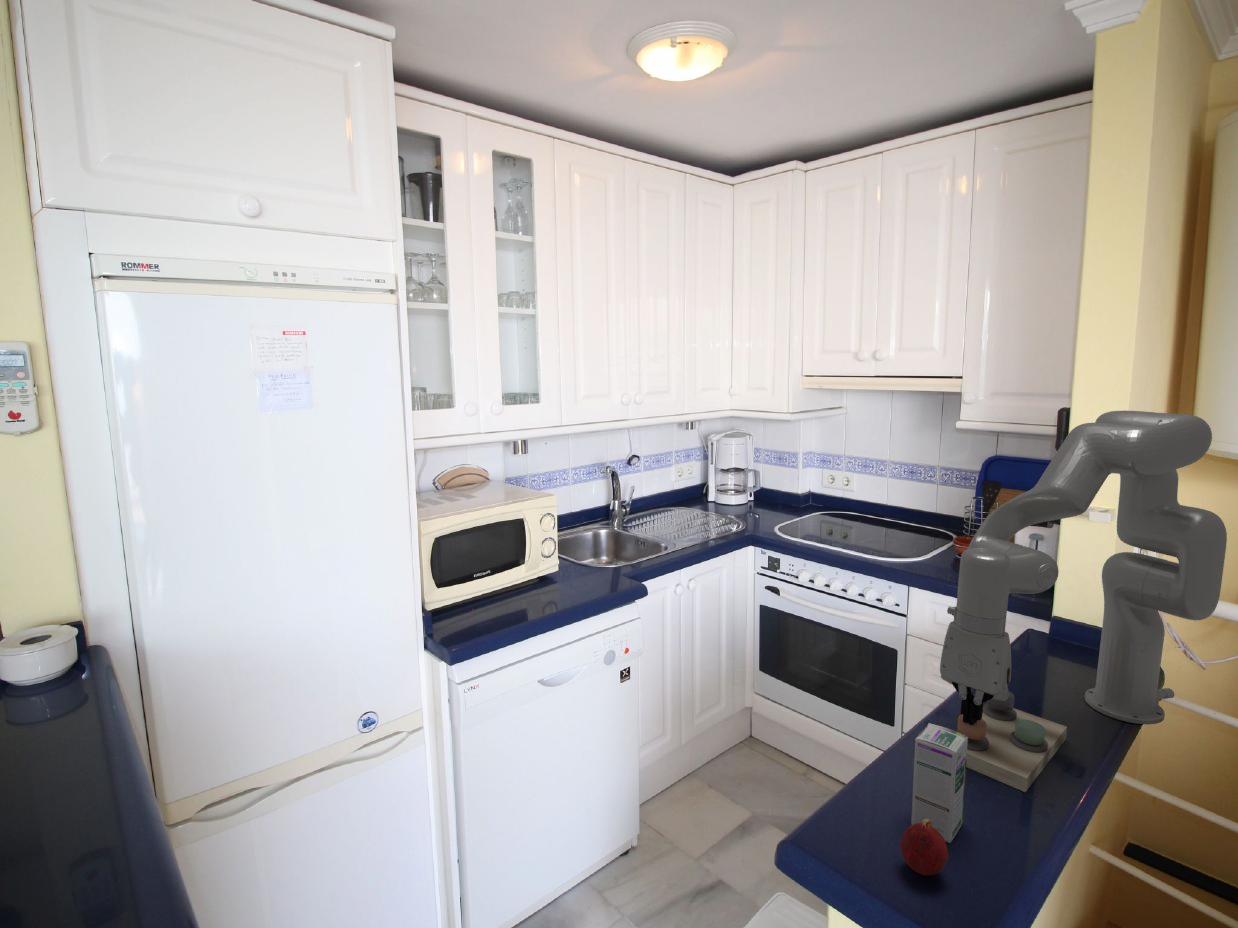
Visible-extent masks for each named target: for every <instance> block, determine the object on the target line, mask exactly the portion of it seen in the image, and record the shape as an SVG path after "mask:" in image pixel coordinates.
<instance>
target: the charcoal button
mask: <svg viewBox="0 0 1238 928" xmlns="http://www.w3.org/2000/svg"><path fill="white" fill-rule="evenodd" d="M1008 691H1009V690H1008ZM1015 697H1016V696H1015V694H1013V692H1011V691H1009V698H1008V699H1007V700H1006V701H1002V700H995V699H990V700H988V701H986V703H988V704H989V705H990V706H991V707H993V708H996V709H999V710H1005V711H1008V710H1012V709H1013V708H1014V706H1015Z"/></svg>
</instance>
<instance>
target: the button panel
mask: <svg viewBox="0 0 1238 928" xmlns="http://www.w3.org/2000/svg"><path fill="white" fill-rule="evenodd" d="M982 719H983V720H984V721H985V722H986V724H987V725H986V736H985V738H984V739H981V740H974V739H969V738H968V743H967V760H966V769H967V768H968V769H970V770H973V771H975V772H976V773H979V774H982V775H983V776H987V777H989V778H991V779H994V780H995V781H998V782H1001V783H1003V784H1005V785H1008V786H1009V787H1012V788H1015V789H1016V790H1019V791H1022V792H1024V793H1026V792H1028V790H1029V788H1031V786H1032V785H1033V783H1034V782H1036V779H1037V778H1038V777H1039V776H1040V774H1041V772H1042V771H1043V770H1044V769H1045V768H1046V766H1047V765H1048V763H1050V761H1051V760H1052V758H1053V757H1054V756H1055V754H1056V753H1057V752H1058V750H1059V749H1060V748H1061V747H1062V746H1063V744H1064V743H1065V741H1066V740H1067V731H1068V727H1067V726H1066V725H1063V724H1061V723H1057V722H1055V721H1052V720H1049V719H1046V718H1043V717H1040V716H1037V715H1034V714H1031V713H1029V712H1026V711H1023V710H1020V709H1017V708H1013V709H1012V710H1008V711H1005V710H999V709H996V708H993V707H991V706H990V705H989V704H988V703H987V702H984V703H983V713H982ZM1021 719H1024V720H1031V721H1034V722H1037V723H1039V724H1040V725H1042V726H1043V727H1044V728H1045V738H1044V743H1043V744H1042V745H1030V744H1027V743H1024V742H1022V741H1020V740H1018V739H1017V738H1016V737H1015V735H1014V734H1015V723H1016V721H1017V720H1021ZM955 731H956V732H958V731H957V729H956V730H955ZM958 733H959V732H958Z"/></svg>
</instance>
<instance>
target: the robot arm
mask: <svg viewBox="0 0 1238 928" xmlns="http://www.w3.org/2000/svg"><path fill="white" fill-rule="evenodd" d="M1212 441H1213V433H1212V429H1211V427H1210V425H1209V423H1207V421H1206V420H1205V419H1203V418H1201V417H1199V416H1196V415H1192V414H1183V413H1169V412H1153V411H1145V410H1144V411H1143V410H1111V411H1107V412H1104V413H1101V414H1100V415H1099V416H1098V417H1097V418H1096V420H1095V422H1086V423H1082V424H1081V423H1080V424H1079V425H1076V426H1075V427H1074V428H1072V429H1071V430H1070V432H1068V434H1067V435H1066V437H1065V439H1064V440H1063V442H1062V443H1061V444H1060V447H1059V448H1058V450H1057V452H1056V453H1055V454H1054V456H1053V457H1052V459H1051V461H1050V462H1049V464H1048V465H1047V466H1046V468H1045V470H1044V472H1043V473H1042V475H1041V477H1040V478H1039V479H1038V481H1037V483H1036V484H1035V485H1034V487H1032V488H1030V489H1029V490H1027V491H1026V492H1023V493H1021V494H1018V495H1017V496H1015V497H1014V498H1011V499H1010V500H1008V501H1006V502H1005V503H1003V504H1001V505H999V506H998V507H997V508H995V509H994V510H993V511H991V512H990V513H989V514H988V515H987V516H986V518H984V520H983V521H982V522H981V524H980V526H979V527H978V529H977V531H976V532H975V533H974V535H973V537H972V539H971V541H970V543H969V545H968V547H967V549H965V550H963V552H962V553H961V555H960V560H959V562H960V563H959V572H958V581H957V583H958V585H957V594H956V595H957V596H956V606H948V607H947V611H946V612H947V614H948V615H951V616H953V620H952V621H951V622H950V623H949V624H948V627H947V629H946V634H945V637H944V641H943V646H942V651H941V657H940V661H939V662H940V663H939V673H940V678H941V679H942V680H943V681H945V682H947V683H948V684H949V685H952V686H953V688H954V689H955V691H957V693H958V697H959V699H960V700H961V705H960V715H963V722H965V723H969V724H970V725H974V724H975V723H976V722H977V721H978V720H979V721H980V720H981V718H982V713H983V704H985V703H987V701H988V700H990V699H995V700H1002V701H1006V700H1007V699H1008V698H1009V686H1010V683H1011V678H1012V649H1011V648H1012V647H1011V640H1010V639H1011V638H1010V635H1009V633H1008V632H1006V626H1007V625H1006V623H1007V613H1008V603H1009V597H1010V596H1009V595H1010V594H1012V593H1013V594H1023V595H1024V594H1028V595H1029V594H1031V595H1032V594H1033V595H1035V594H1040V593H1043V592H1046V591H1047V590H1050V589H1051V588H1052V587H1053V586H1054V585H1055V583H1056V582H1057V580H1058V577H1059V571H1060V570H1059V566H1058V563H1057V562H1056V561H1055V559H1054V557H1052V556H1051V555H1049V554H1047V553H1046V552H1044V551H1041V550H1039V549H1036V548H1031V547H1028V546H1024V545H1022V544H1018V543H1015V542H1011V541H1010V540H1011V538H1013V536H1015V534H1017V533H1018V532H1020V531H1022V530H1024V529H1025V528H1028V527H1029V526H1030V527H1031V526H1033V525H1035V524H1041V523H1045V522H1050V521H1057V520H1063V519H1068V518H1074V517H1077V516H1081V515H1082V514H1084V513H1085V512H1086V511H1087V510H1088V509H1089V508H1090V506H1091V504H1092V503H1093V501H1094V499H1095V498H1096V496H1097V494H1098V492H1099V491H1100V489H1101V488H1102V486H1103V485H1104V483H1105V481H1106V479H1107V478H1108V477H1109V475H1111V474H1116V475H1117V474H1118V475H1119V479H1120V482H1119V493H1118V494H1119V495H1118V506H1117V517H1116V534H1117V537H1118V538H1119V540H1120V541H1121V542H1123V543H1124V544H1126V545H1128V546H1130V547H1133V548H1137V549H1141V550H1146V551H1148V552H1152V553H1158V554H1161V555H1164V556H1167V557H1168V556H1169V557H1173V558H1176V559H1177V561H1178V562H1176V561H1175V562H1174V561H1171V560H1167V559H1164V558H1160V557H1155V556H1151V555H1147V554H1142V553H1139V552H1138V553H1137V552H1131V551H1124V552H1118V553H1114V554H1113V555H1111V556H1109V557H1108V558H1107V559H1106V561H1105V562H1104V564H1103V565H1102V570H1101V583H1102V590H1103V605H1104V606H1103V619H1102V628H1101V637H1100V644H1099V654H1098V662H1097V669H1096V670H1097V671H1096V679H1095V681H1096V682H1095V687H1092V688H1089V689H1087V690H1086V691H1085V693H1084V700H1085V702H1086V704H1088V705H1089V707H1091V708H1092V709H1093V710H1096V711H1097V712H1099V713H1100V714H1103V715H1105V716H1107V717H1110V718H1113V719H1116V720H1118V721H1123V722H1126V723H1131V724H1137V725H1157V724H1159V723H1161V722H1163V721H1164V720H1165V715H1166V713H1165V710H1164V709H1163V707H1161V705H1160V702H1161V701H1162V700H1166V699H1173V698H1174V697H1175V692H1174V690H1173V689H1171V687H1164V688H1158V687H1159V680H1160V672H1161V665H1162V658H1163V657H1162V656H1163V650H1164V640H1165V630H1166V629H1165V625H1164V621H1163V619H1162V616H1161V614H1160V613H1159V612H1161V613H1164V614H1167V615H1171V616H1174V617H1176V618H1177V617H1178V618H1180V619H1181V618H1182V619H1183V620H1184V619H1185V620H1190V621H1202V620H1203V621H1204V620H1205V619H1208V618H1209V617H1211V616H1212V614H1213V613H1214V612H1215V610H1216V609H1217V607H1218V604H1219V602H1220V601H1219V600H1220V596H1221V589H1222V583H1223V582H1222V581H1223V575H1224V567H1225V559H1226V551H1227V541H1228V539H1227V538H1228V533H1227V528H1226V525H1225V523H1224V521H1223V519H1222V518H1221V517H1220V516H1219V515H1218V514H1217V513H1215V512H1213V511H1211V510H1207V509H1205V508H1200V507H1194V506H1188V505H1183V504H1180V503H1179V500H1178V493H1179V492H1178V491H1179V474H1178V469H1182V468H1184V467H1188V466H1190V465H1192V464H1195V463H1196V462H1198V461H1199V460H1201V459H1202V458H1203V457H1204V456H1205V455H1206V453H1208V451H1209V449H1210V447H1211V445H1212ZM973 690H975V693H974V694H973Z"/></svg>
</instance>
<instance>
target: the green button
mask: <svg viewBox="0 0 1238 928" xmlns="http://www.w3.org/2000/svg"><path fill="white" fill-rule="evenodd" d="M1014 735H1015V737H1016V738H1017V739H1018V740H1020V741H1022V742H1024V743H1027V744H1030V745H1042V744H1043V743H1044V738H1045V728H1044V727H1043V726H1042V725H1040V724H1039V723H1037V722H1034V721H1031V720H1024V719H1021V720H1017V721H1016V723H1015V734H1014Z"/></svg>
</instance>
